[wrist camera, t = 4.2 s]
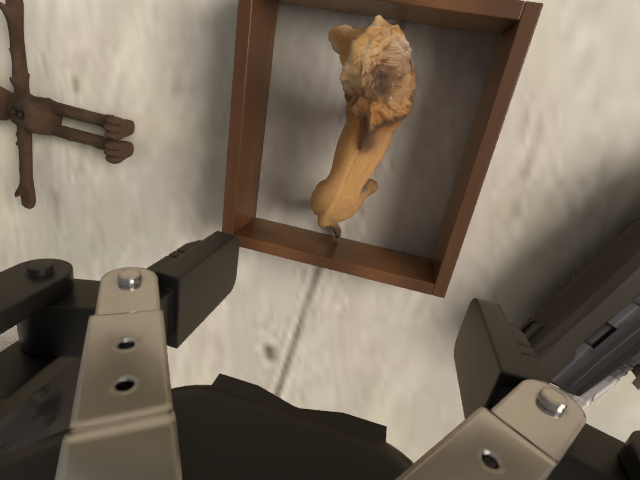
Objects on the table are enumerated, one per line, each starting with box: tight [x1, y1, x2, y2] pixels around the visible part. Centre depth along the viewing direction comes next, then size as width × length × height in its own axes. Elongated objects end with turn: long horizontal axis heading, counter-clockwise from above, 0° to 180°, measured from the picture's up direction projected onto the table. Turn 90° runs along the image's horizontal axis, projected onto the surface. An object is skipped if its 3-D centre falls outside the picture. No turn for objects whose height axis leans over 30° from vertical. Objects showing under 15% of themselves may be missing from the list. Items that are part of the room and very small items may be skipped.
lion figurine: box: [311, 15, 416, 238], centre depth 24 cm, size 15×5×9 cm, turn 168°
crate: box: [222, 0, 543, 298], centre depth 26 cm, size 17×18×4 cm
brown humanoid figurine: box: [0, 0, 134, 209], centre depth 31 cm, size 18×4×14 cm
